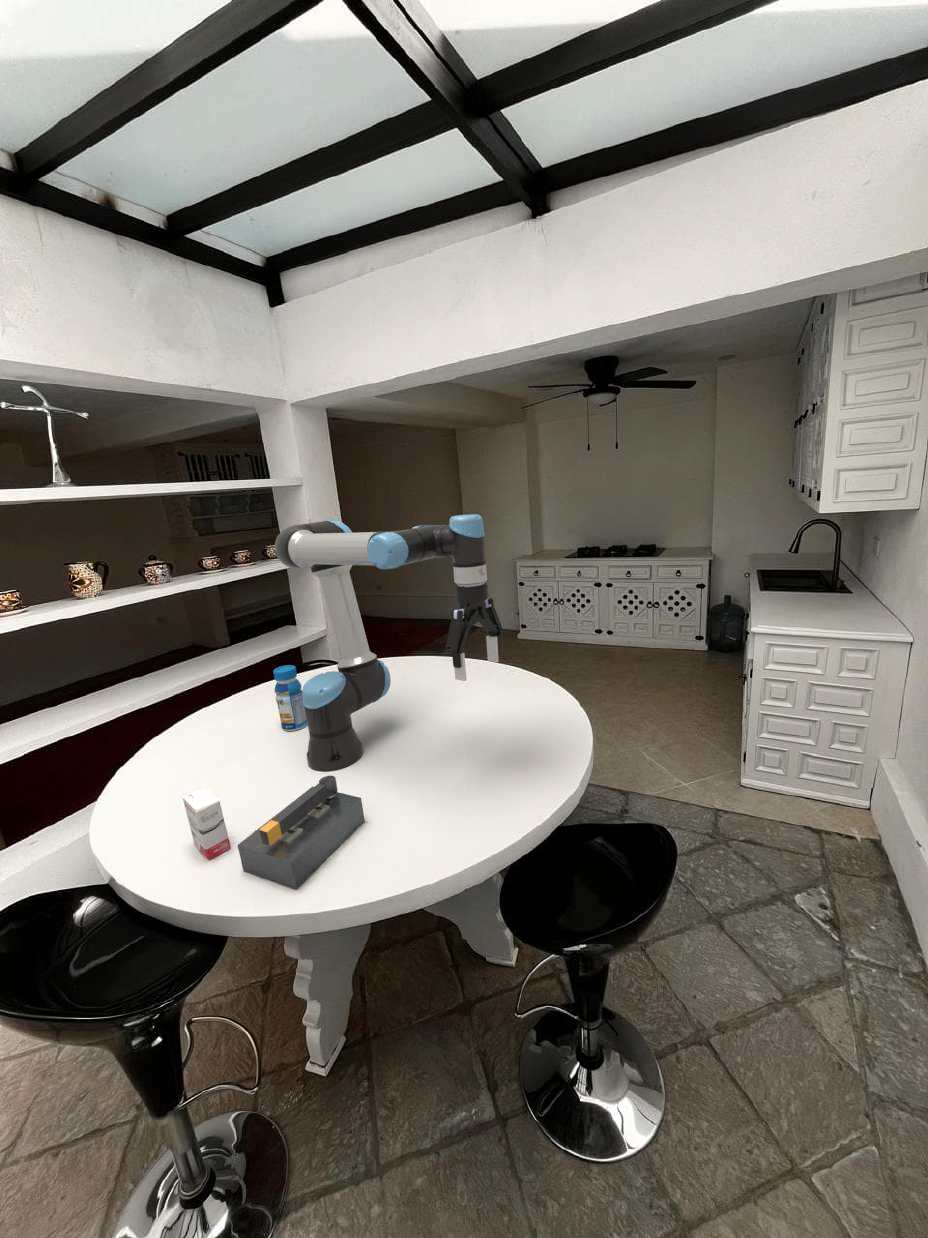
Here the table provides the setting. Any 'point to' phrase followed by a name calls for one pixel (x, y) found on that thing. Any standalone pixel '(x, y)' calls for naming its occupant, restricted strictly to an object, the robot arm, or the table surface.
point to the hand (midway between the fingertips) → (477, 670)
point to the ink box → (207, 823)
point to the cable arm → (298, 810)
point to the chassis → (303, 842)
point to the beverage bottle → (289, 698)
